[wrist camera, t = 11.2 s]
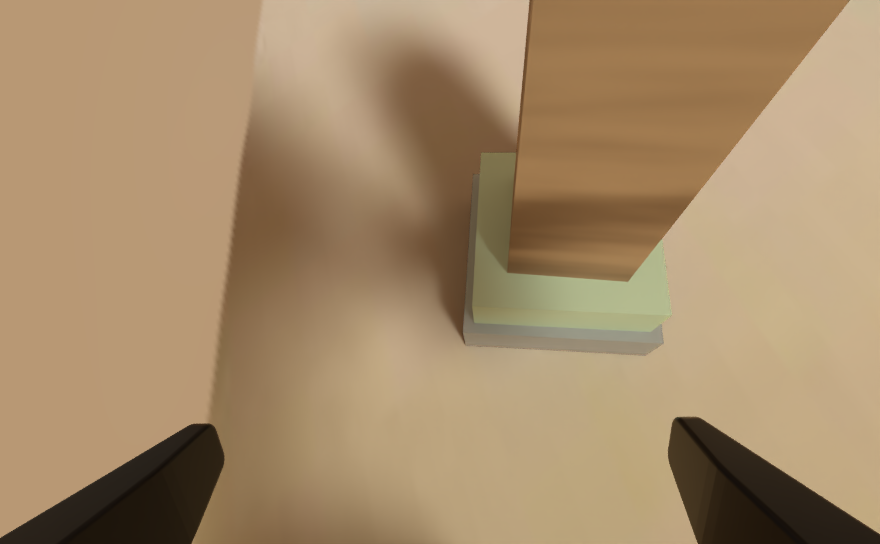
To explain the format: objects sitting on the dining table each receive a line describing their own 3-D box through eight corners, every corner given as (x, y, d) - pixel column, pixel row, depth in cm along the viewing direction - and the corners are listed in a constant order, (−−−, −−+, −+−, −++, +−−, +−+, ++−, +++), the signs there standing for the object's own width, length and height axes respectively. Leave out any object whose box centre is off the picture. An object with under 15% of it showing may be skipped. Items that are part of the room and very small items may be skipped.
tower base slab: (645, 355, 22) (663, 343, 20) (465, 345, 23) (463, 332, 21) (630, 200, 25) (644, 175, 23) (474, 198, 26) (473, 174, 24)
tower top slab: (650, 332, 20) (671, 315, 18) (474, 323, 21) (472, 306, 19) (635, 183, 23) (651, 152, 21) (481, 181, 24) (481, 152, 22)
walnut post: (627, 281, 18) (888, -49, 6) (507, 272, 19) (537, -40, 7) (623, 181, 20) (818, -219, 8) (513, 176, 21) (546, -198, 9)
